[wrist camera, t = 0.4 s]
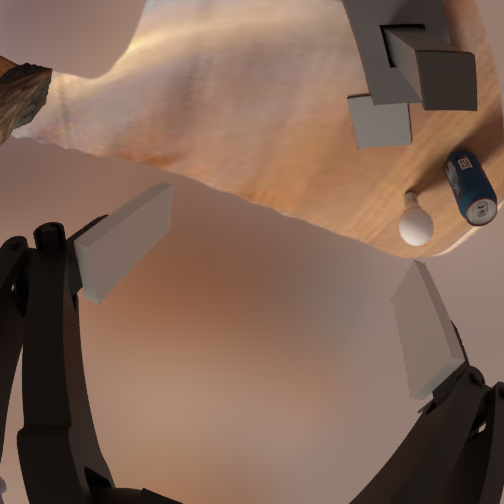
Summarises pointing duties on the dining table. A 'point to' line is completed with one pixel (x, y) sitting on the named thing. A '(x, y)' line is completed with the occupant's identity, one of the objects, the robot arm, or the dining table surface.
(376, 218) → the dining table surface
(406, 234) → the lightbulb
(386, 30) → the plug
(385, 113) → the mat
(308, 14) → the dining table surface
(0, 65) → the wooden box
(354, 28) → the dark gray block
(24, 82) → the rock
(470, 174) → the soda can
